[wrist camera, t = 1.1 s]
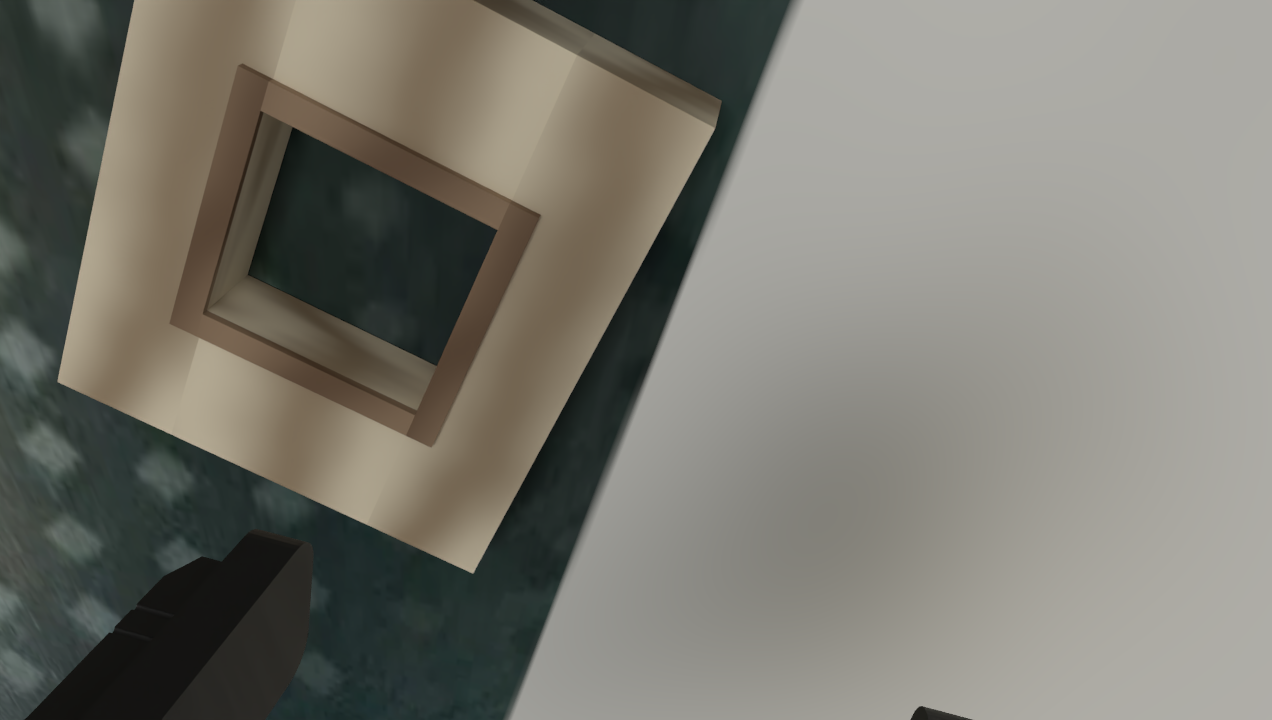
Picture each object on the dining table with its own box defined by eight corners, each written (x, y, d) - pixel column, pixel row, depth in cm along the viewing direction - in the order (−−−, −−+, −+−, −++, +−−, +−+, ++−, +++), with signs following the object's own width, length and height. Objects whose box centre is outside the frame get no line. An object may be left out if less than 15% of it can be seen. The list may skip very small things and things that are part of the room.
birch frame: (105, 343, 40) (52, 386, 37) (221, -166, 30) (161, -162, 27) (492, 525, 42) (470, 578, 39) (721, 101, 32) (714, 131, 29)
